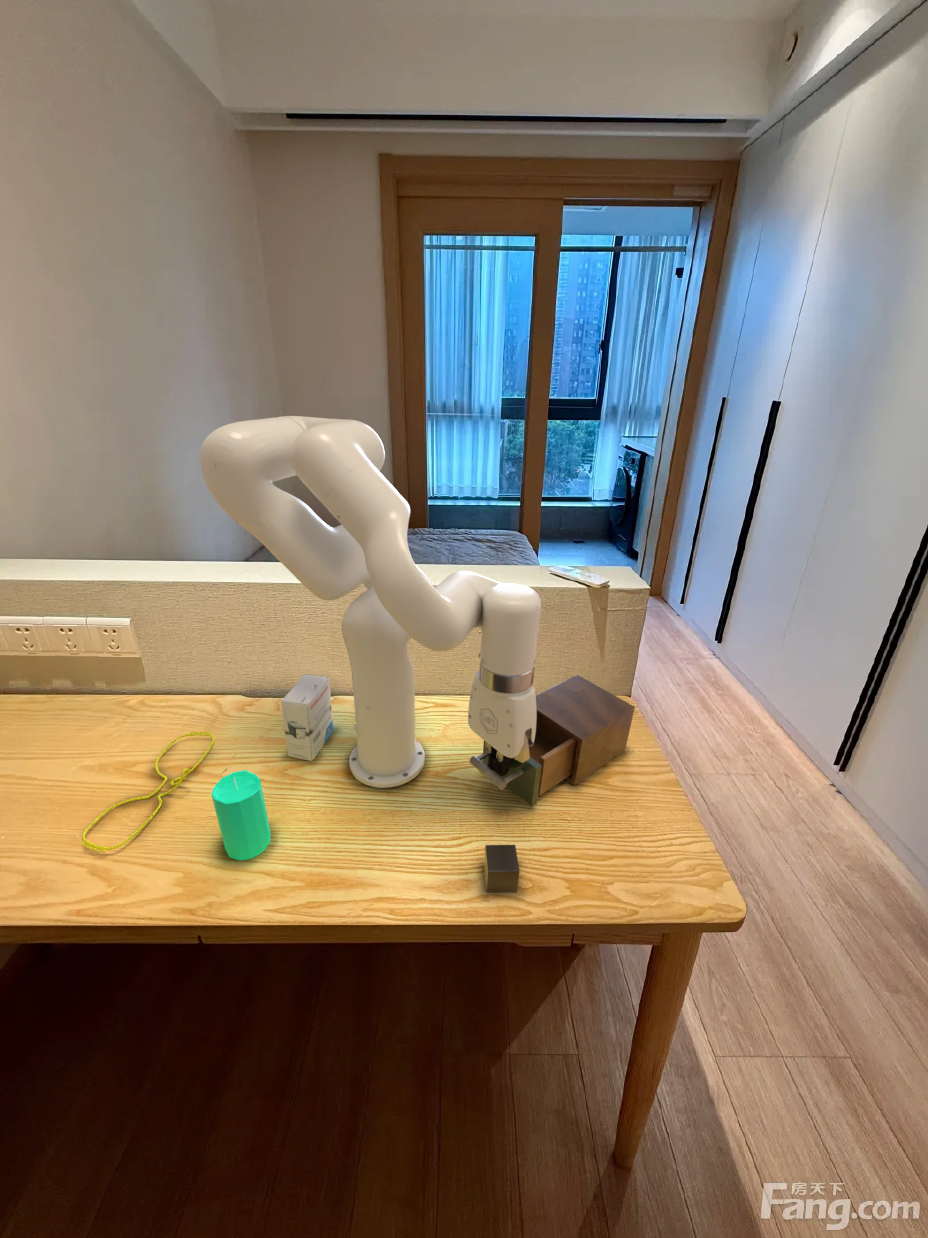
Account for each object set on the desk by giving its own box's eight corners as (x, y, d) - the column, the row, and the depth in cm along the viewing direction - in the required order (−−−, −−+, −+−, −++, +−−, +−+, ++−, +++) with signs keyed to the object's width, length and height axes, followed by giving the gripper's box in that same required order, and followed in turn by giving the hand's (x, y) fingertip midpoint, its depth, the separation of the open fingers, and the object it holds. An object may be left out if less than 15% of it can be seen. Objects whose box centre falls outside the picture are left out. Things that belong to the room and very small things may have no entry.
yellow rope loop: (183, 734, 92) (177, 712, 90) (235, 740, 91) (230, 719, 89) (68, 852, 70) (57, 827, 68) (135, 862, 69) (125, 837, 67)
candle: (244, 868, 69) (228, 802, 63) (216, 847, 71) (198, 782, 66) (280, 837, 73) (268, 773, 68) (252, 818, 76) (239, 755, 70)
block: (486, 892, 67) (487, 871, 65) (483, 865, 70) (485, 844, 68) (517, 891, 67) (519, 871, 65) (513, 864, 70) (515, 844, 69)
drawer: (508, 823, 75) (512, 784, 72) (459, 779, 83) (460, 741, 80) (585, 770, 86) (592, 733, 82) (535, 735, 94) (539, 700, 90)
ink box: (310, 726, 95) (303, 672, 90) (336, 730, 94) (330, 676, 89) (287, 757, 88) (278, 700, 82) (314, 762, 87) (307, 705, 82)
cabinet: (574, 786, 84) (582, 739, 79) (519, 745, 92) (524, 701, 88) (625, 750, 92) (635, 706, 88) (570, 715, 100) (577, 674, 96)
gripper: (451, 658, 74) (449, 757, 82) (526, 708, 64) (514, 815, 72) (490, 643, 78) (484, 738, 87) (566, 688, 68) (551, 791, 76)
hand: (498, 773), depth 79 cm, fingers closed
